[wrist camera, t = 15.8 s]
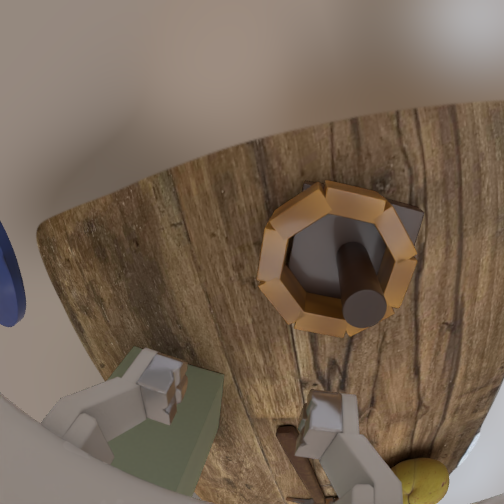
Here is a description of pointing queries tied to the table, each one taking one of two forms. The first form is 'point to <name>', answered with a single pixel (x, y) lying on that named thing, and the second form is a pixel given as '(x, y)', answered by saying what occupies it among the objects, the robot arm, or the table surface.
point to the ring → (306, 213)
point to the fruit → (422, 480)
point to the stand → (347, 261)
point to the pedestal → (172, 434)
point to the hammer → (301, 467)
